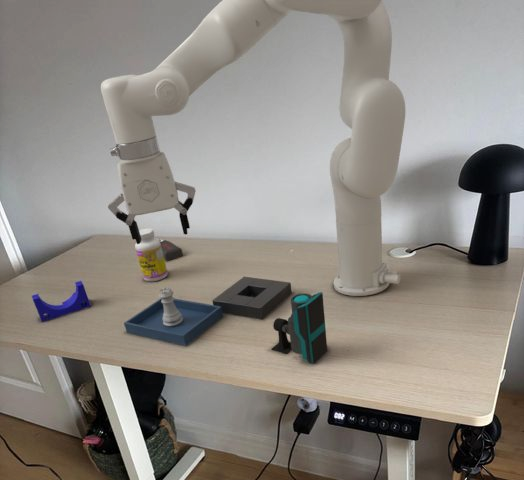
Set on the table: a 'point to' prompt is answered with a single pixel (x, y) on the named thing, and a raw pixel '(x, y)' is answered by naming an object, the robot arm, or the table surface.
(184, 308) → the basin tray
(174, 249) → the usb drive
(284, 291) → the square hole block
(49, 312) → the blue curved cradle bracket
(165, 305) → the rook chess piece
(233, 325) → the table surface
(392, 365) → the table surface
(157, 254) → the supplement bottle
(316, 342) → the surveillance camera
